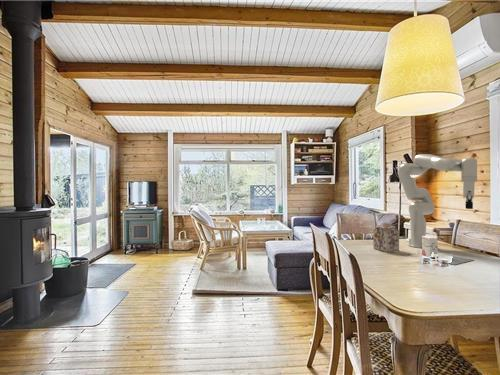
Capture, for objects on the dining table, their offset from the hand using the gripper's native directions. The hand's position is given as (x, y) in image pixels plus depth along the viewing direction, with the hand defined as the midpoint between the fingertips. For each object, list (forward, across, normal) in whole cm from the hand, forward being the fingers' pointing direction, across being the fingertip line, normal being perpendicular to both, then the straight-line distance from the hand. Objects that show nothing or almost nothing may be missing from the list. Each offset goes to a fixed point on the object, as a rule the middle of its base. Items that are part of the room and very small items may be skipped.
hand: (469, 208), depth 172 cm
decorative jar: (+30, +3, -45) cm, 54 cm away
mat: (+29, +13, -9) cm, 33 cm away
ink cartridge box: (+30, +8, -19) cm, 36 cm away
